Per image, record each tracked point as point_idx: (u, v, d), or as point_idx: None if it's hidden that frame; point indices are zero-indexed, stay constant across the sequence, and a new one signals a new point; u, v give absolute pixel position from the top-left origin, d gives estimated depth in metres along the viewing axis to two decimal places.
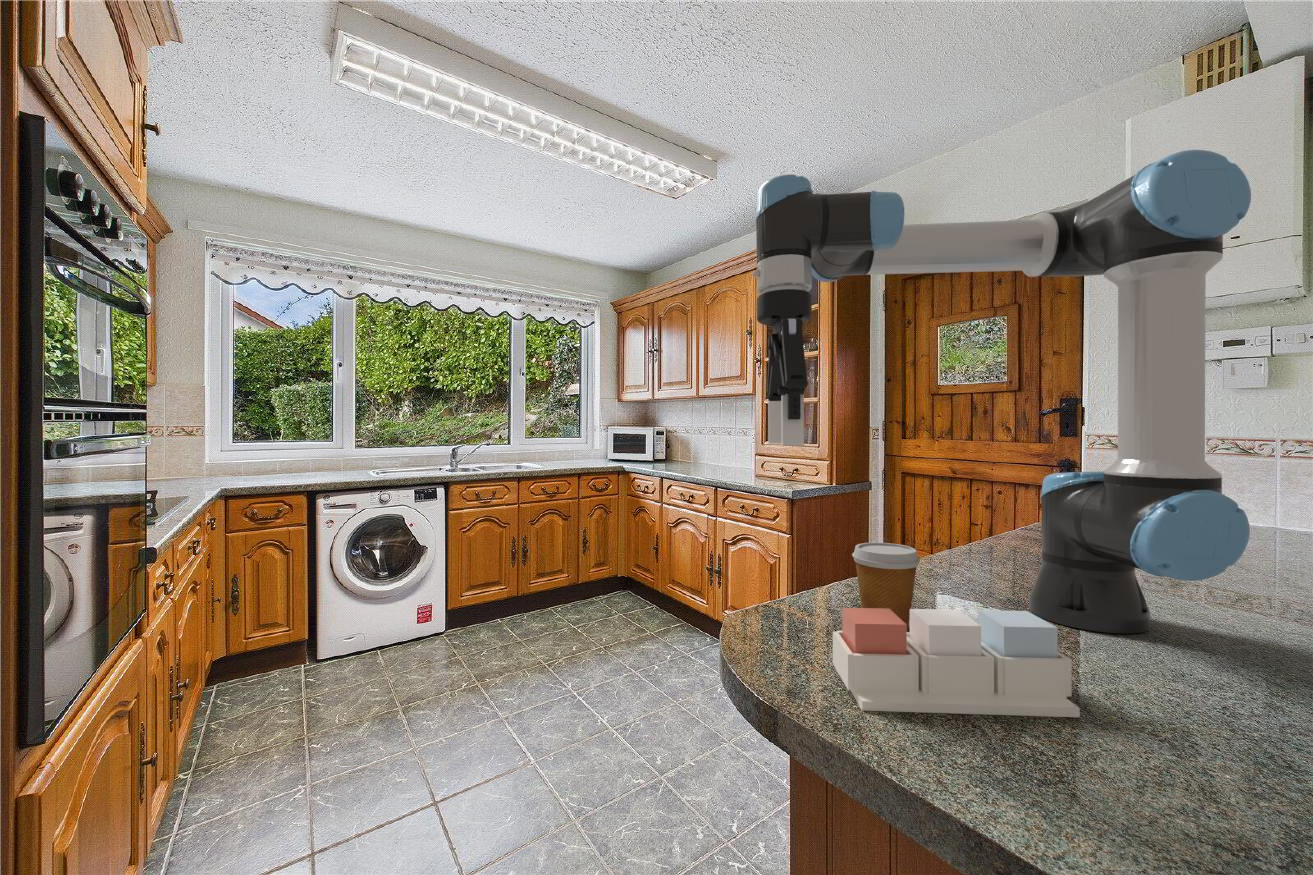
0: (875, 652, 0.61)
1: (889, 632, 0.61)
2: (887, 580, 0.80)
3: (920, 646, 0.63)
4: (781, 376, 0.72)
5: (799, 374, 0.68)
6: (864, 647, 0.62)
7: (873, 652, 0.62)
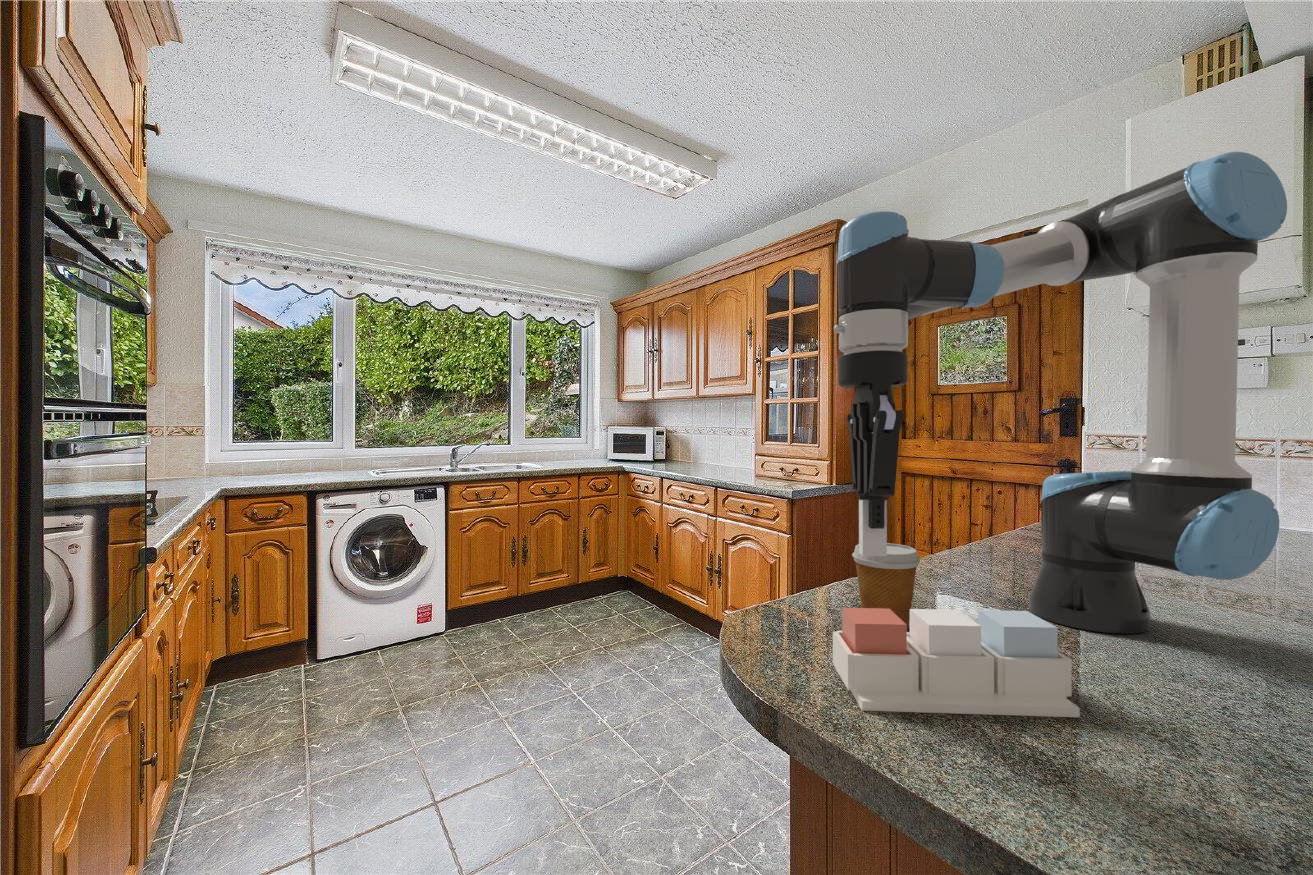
0: (875, 652, 0.61)
1: (889, 632, 0.61)
2: (887, 580, 0.80)
3: (920, 646, 0.63)
4: (864, 469, 0.63)
5: (887, 485, 0.60)
6: (864, 647, 0.62)
7: (873, 652, 0.62)
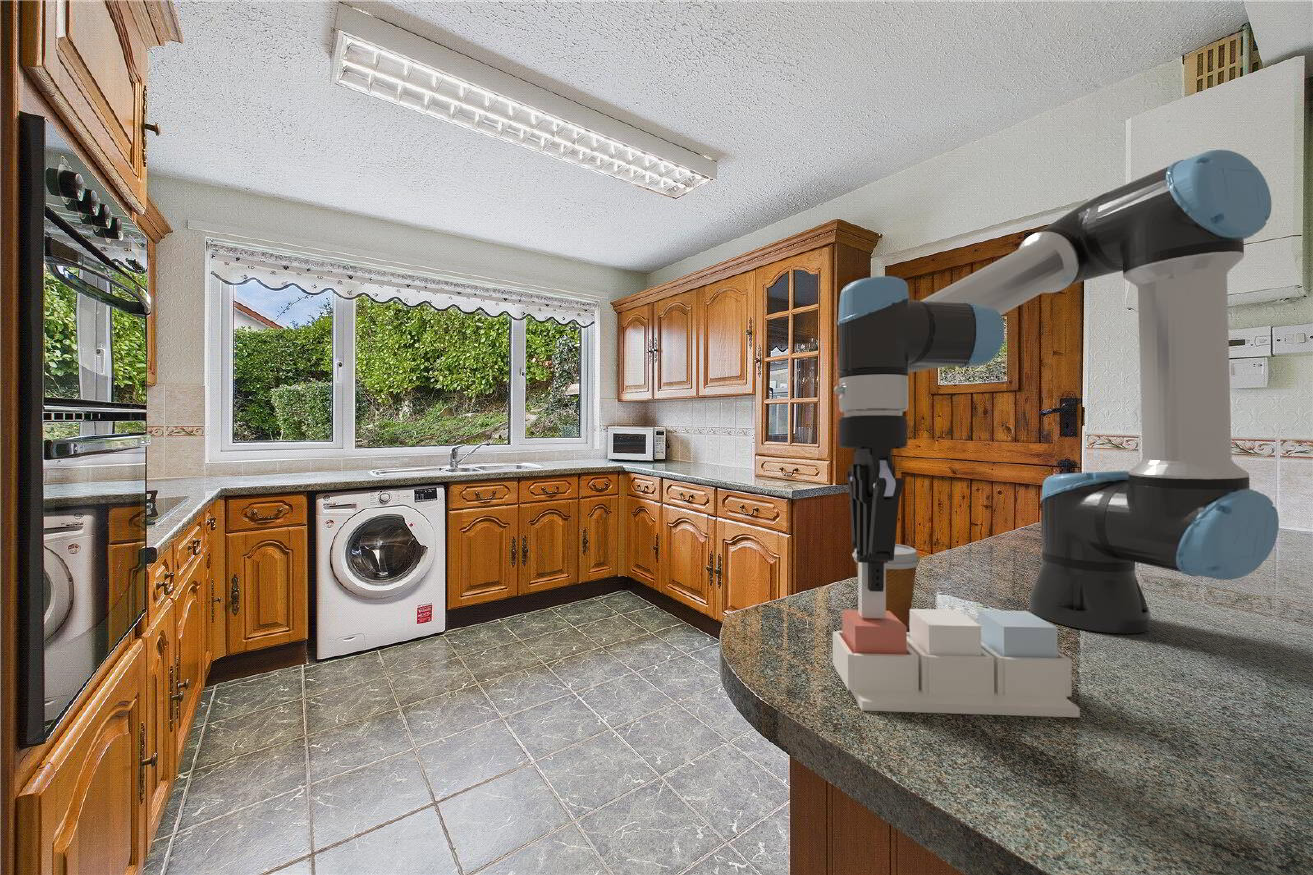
0: None
1: (889, 635, 0.61)
2: (887, 580, 0.80)
3: (920, 646, 0.63)
4: (863, 531, 0.63)
5: (886, 550, 0.60)
6: (864, 649, 0.62)
7: None
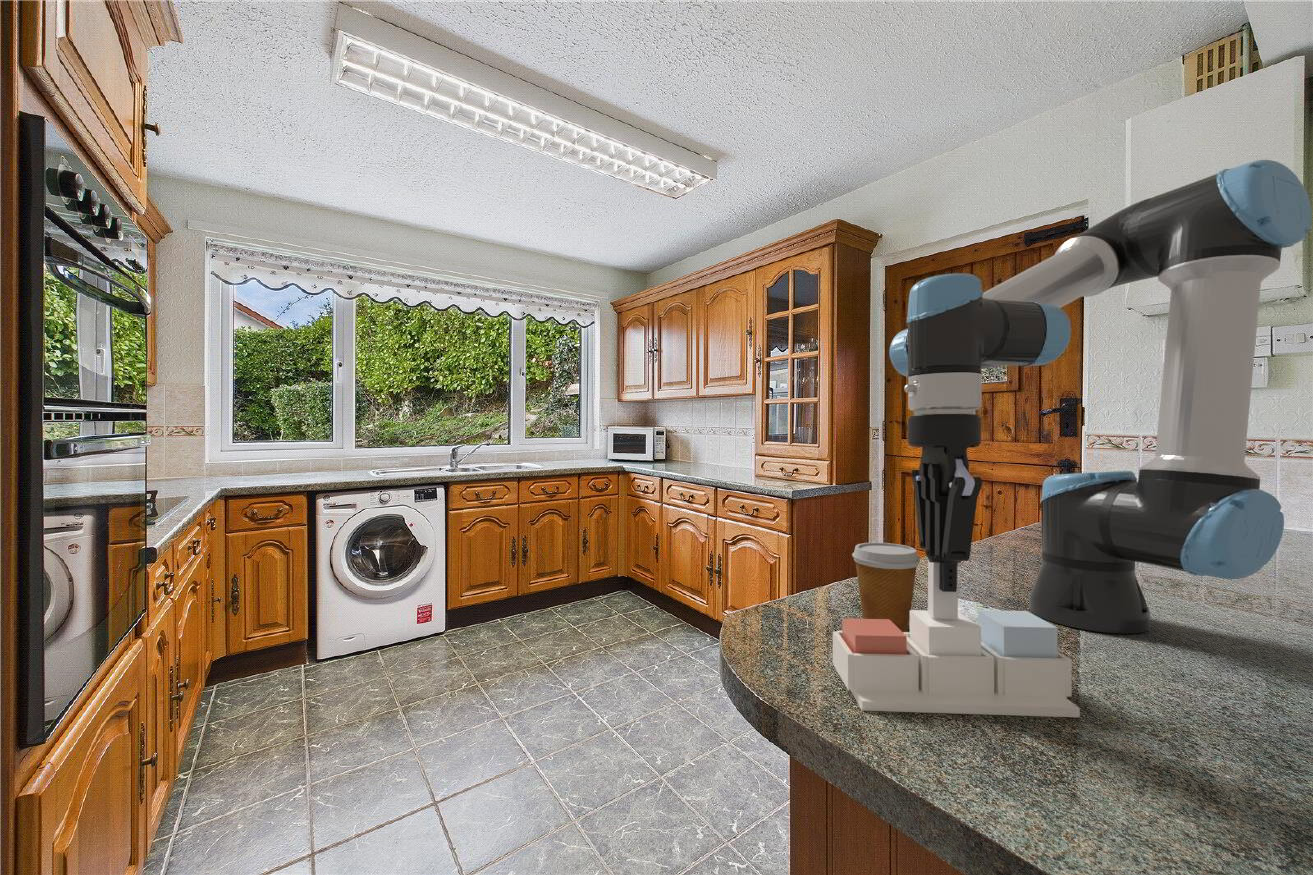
0: None
1: (890, 644, 0.61)
2: (887, 580, 0.80)
3: (920, 647, 0.63)
4: (935, 531, 0.63)
5: (962, 550, 0.60)
6: None
7: None
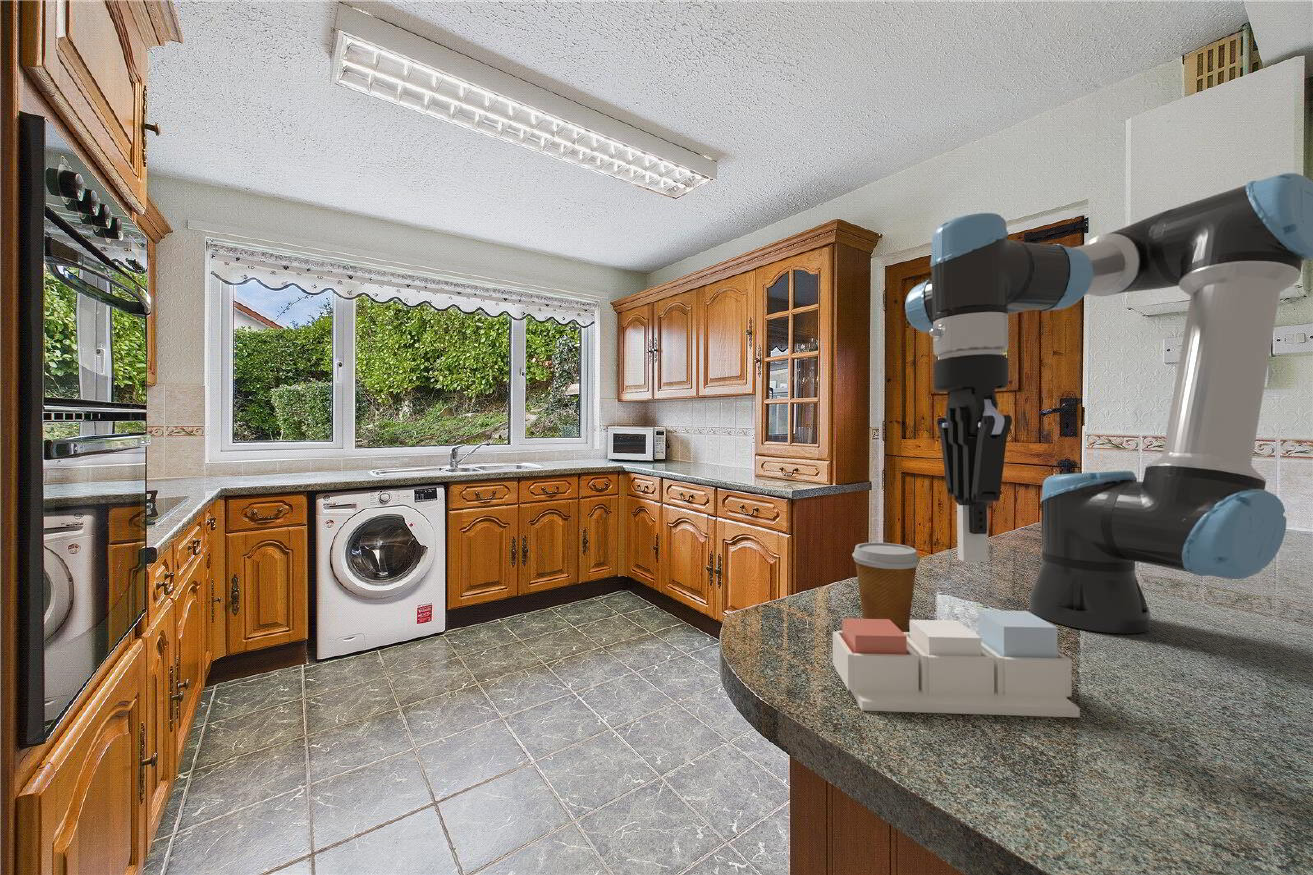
0: None
1: (890, 644, 0.61)
2: (887, 580, 0.80)
3: None
4: (963, 474, 0.63)
5: (992, 490, 0.60)
6: None
7: None
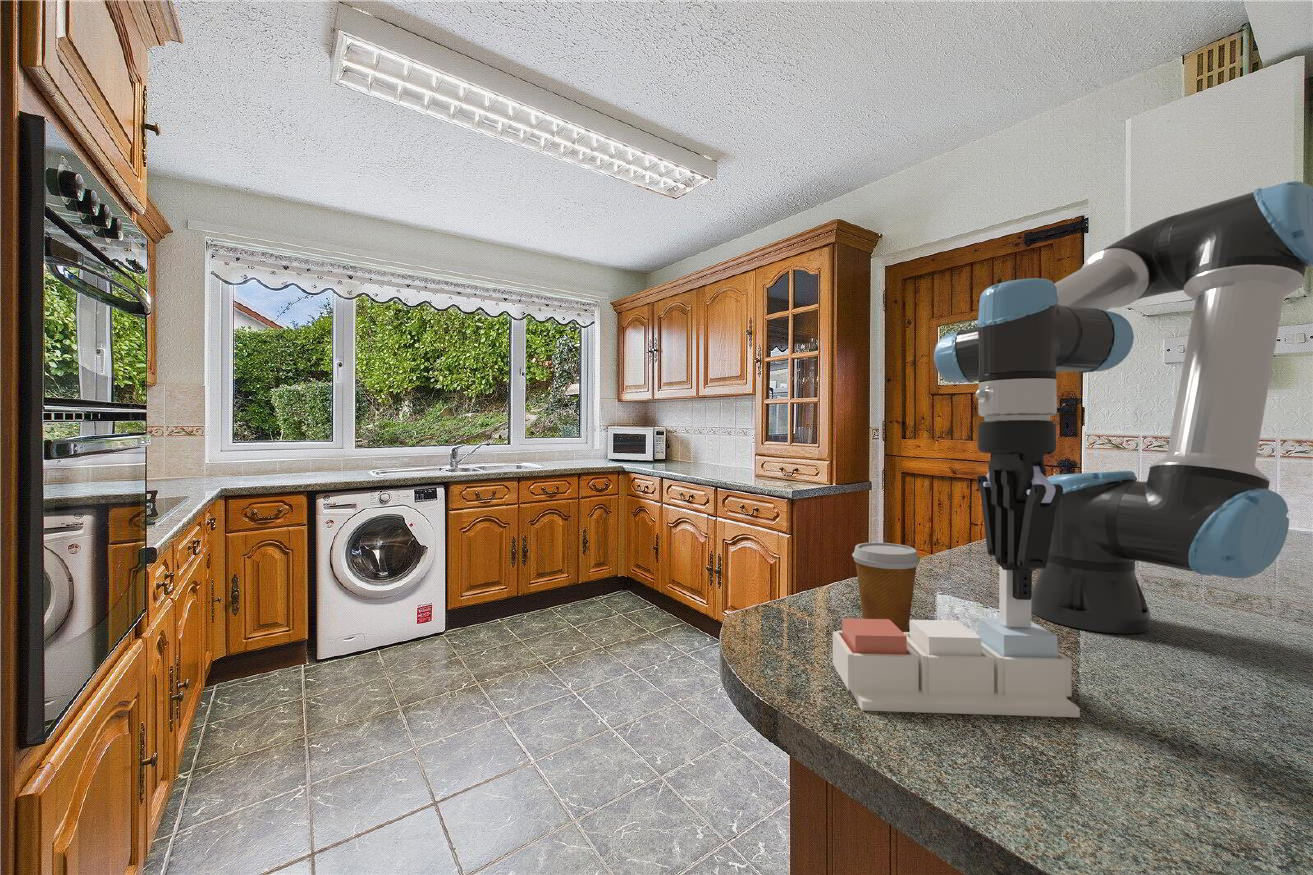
0: None
1: (890, 644, 0.61)
2: (887, 580, 0.80)
3: None
4: (1008, 538, 0.62)
5: (1039, 558, 0.59)
6: None
7: None
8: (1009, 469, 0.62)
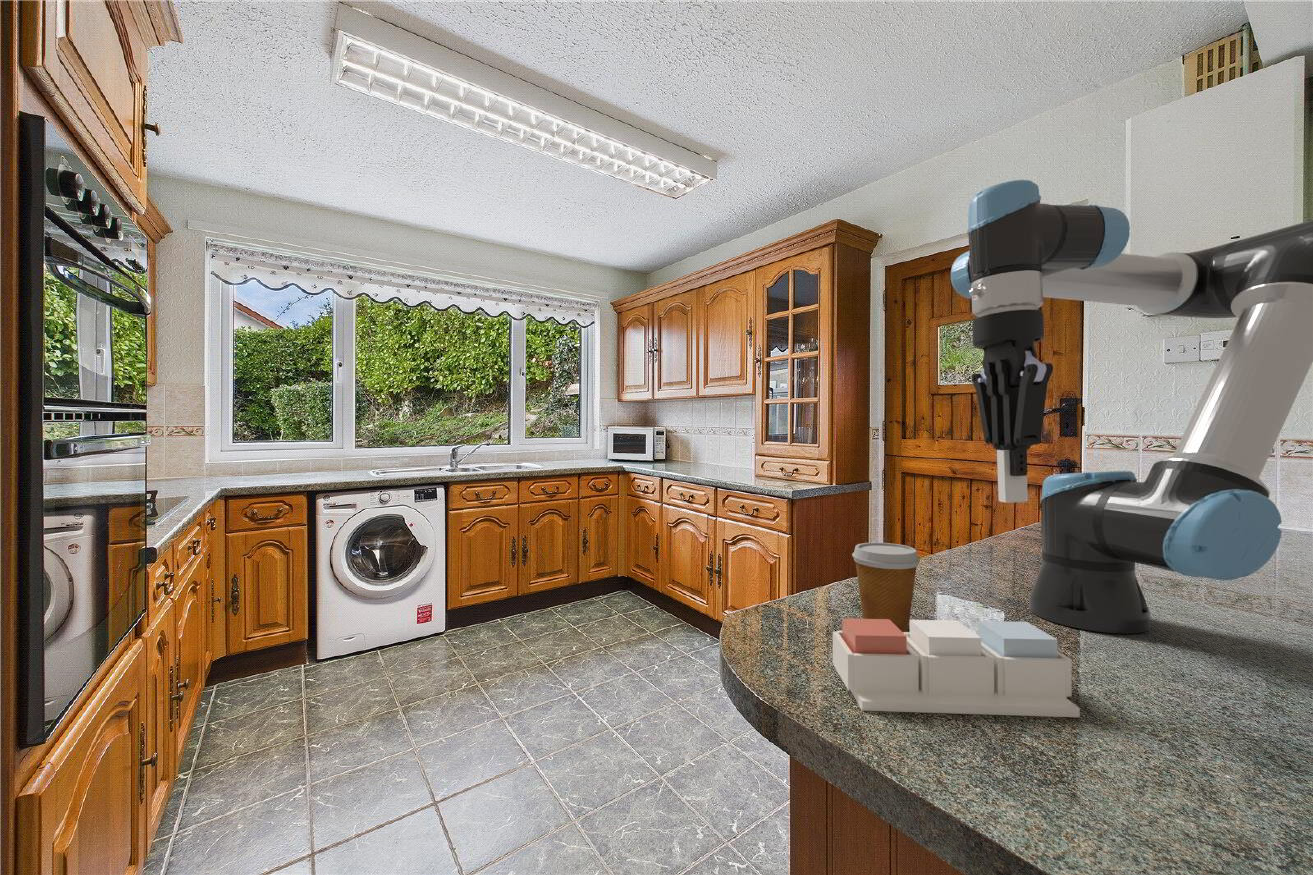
0: None
1: (890, 644, 0.61)
2: (887, 580, 0.80)
3: None
4: (1004, 422, 0.68)
5: (1033, 434, 0.65)
6: None
7: None
8: (1002, 358, 0.68)
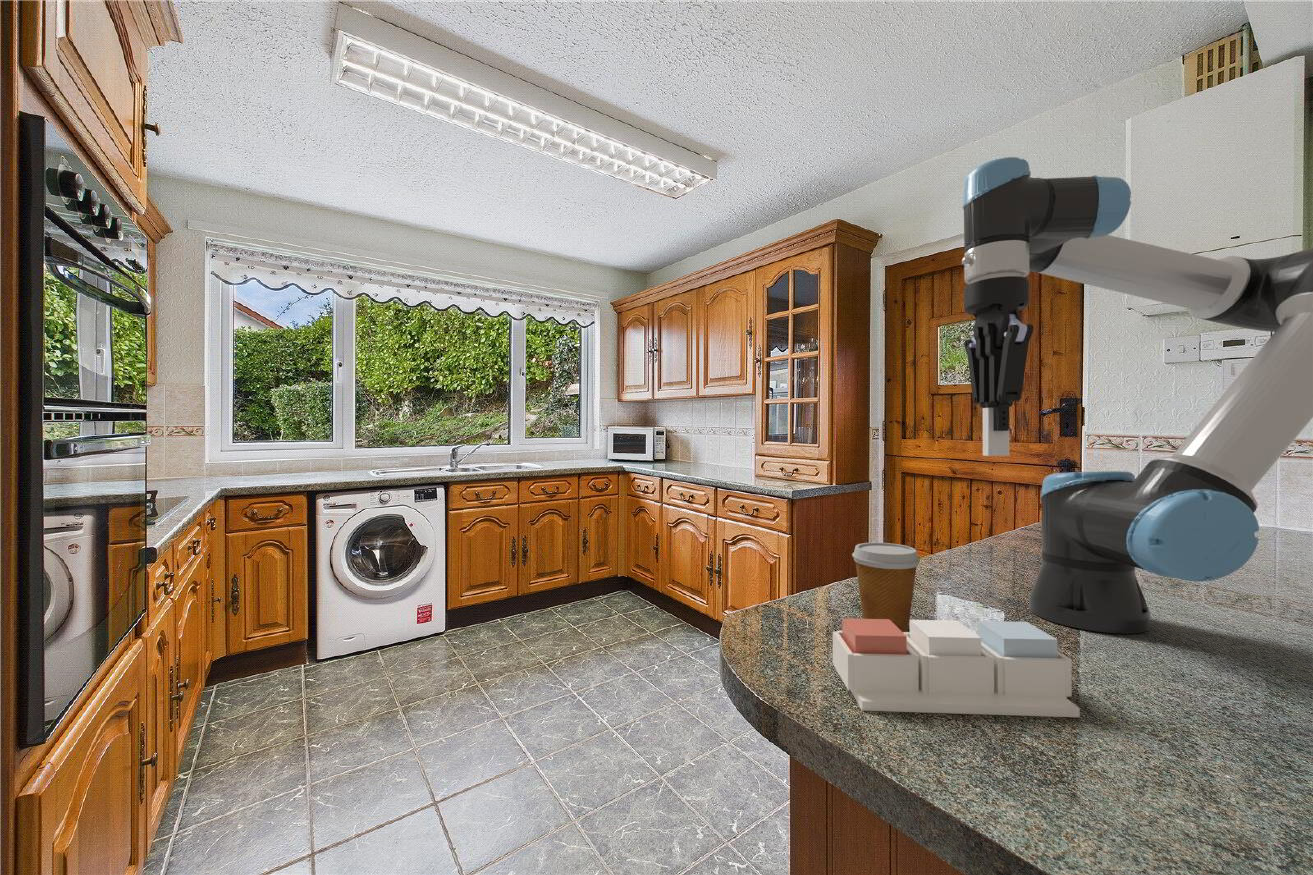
0: None
1: (890, 644, 0.61)
2: (887, 580, 0.80)
3: None
4: (989, 381, 0.74)
5: (1015, 390, 0.70)
6: None
7: None
8: (990, 322, 0.73)
